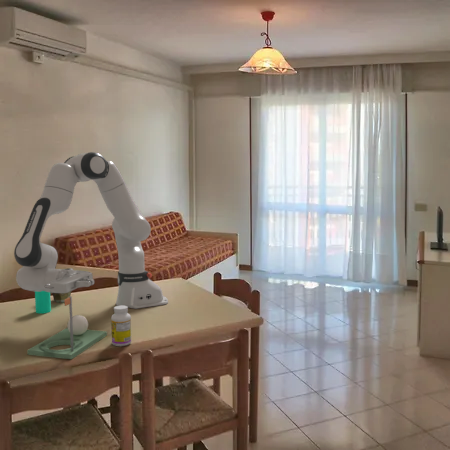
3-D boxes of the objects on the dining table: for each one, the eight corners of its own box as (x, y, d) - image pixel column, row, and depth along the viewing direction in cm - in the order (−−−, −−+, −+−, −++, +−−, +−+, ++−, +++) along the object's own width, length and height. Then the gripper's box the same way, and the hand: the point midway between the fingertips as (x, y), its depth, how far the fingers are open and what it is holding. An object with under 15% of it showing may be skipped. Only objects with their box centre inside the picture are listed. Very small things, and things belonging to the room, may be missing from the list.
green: (67, 331, 200) (65, 279, 198) (106, 335, 196) (105, 282, 194) (27, 354, 177) (24, 296, 175) (71, 359, 173) (69, 299, 171)
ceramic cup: (76, 301, 242) (76, 279, 241) (54, 304, 237) (53, 282, 236) (67, 295, 253) (66, 273, 252) (45, 298, 247) (44, 276, 246)
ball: (87, 330, 197) (86, 311, 196) (89, 336, 190) (88, 317, 189) (67, 332, 194) (66, 313, 194) (68, 338, 188) (67, 319, 187)
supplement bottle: (113, 340, 191) (112, 304, 189) (132, 340, 191) (131, 304, 190) (110, 347, 184) (109, 310, 183) (130, 346, 185) (129, 309, 183)
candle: (46, 313, 223) (45, 285, 221) (32, 313, 224) (31, 284, 222) (53, 309, 229) (52, 281, 227) (40, 309, 230) (39, 281, 228)
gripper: (41, 278, 192) (76, 281, 188) (71, 267, 211) (104, 269, 208) (41, 296, 193) (77, 298, 189) (72, 283, 212) (104, 285, 209)
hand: (91, 283), depth 199 cm, fingers closed
